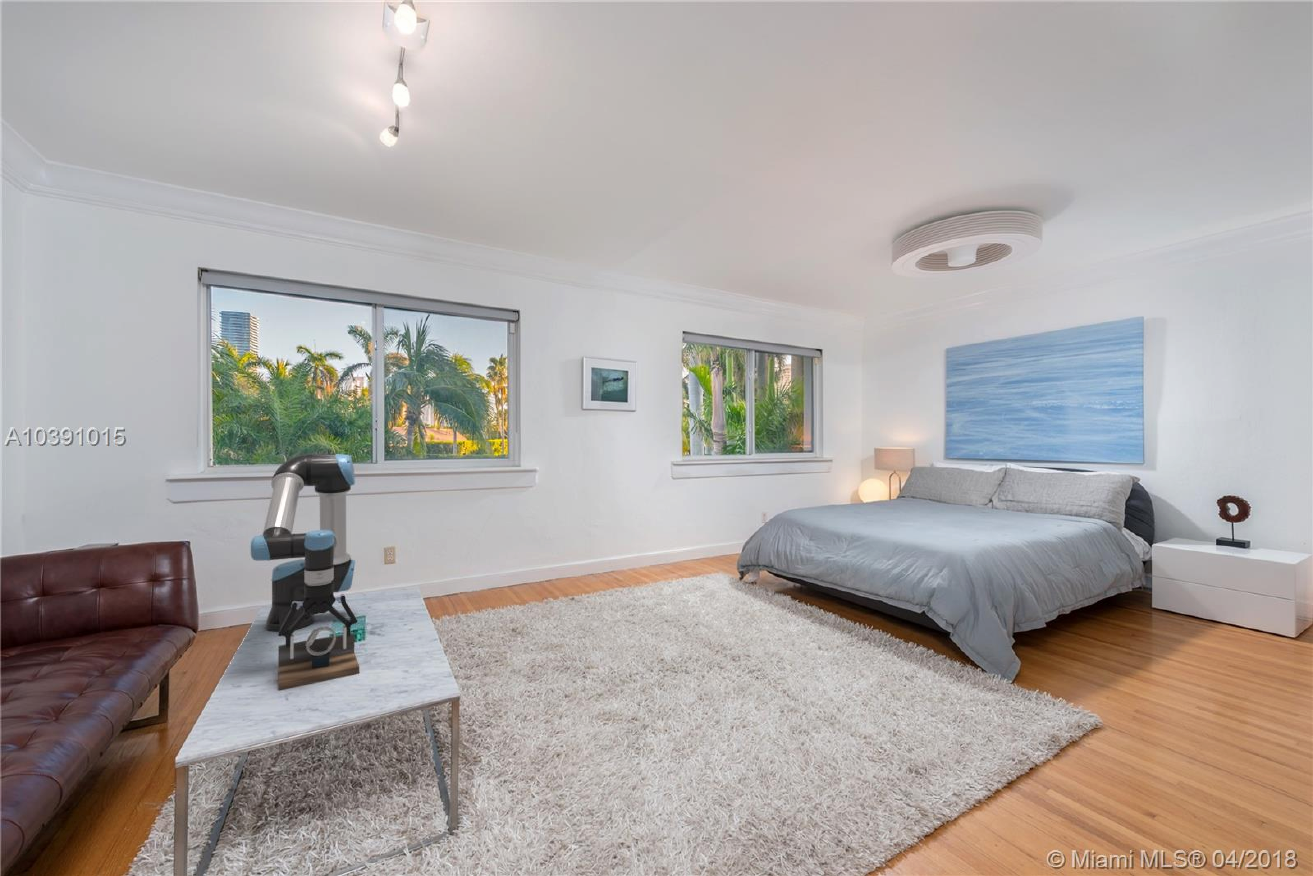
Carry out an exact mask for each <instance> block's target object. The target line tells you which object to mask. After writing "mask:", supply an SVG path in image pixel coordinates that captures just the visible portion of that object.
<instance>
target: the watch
mask: <svg viewBox="0 0 1313 876" xmlns="http://www.w3.org/2000/svg"><path fill="white" fill-rule="evenodd" d="M321 631H328V632H331V633H332V636H334V637H333V640H332V643H331V644H330V646H329V647H328V649H327V650H323V651H317V652H314V651H312V650H311V649H310V648H309V646H311V645H312V643H313V642H314V640H315V639H317V637H318V635H319V633H320V632H321ZM336 635H337V634H336V632H335V630H334V629H332V628H331V627H329V626H319V627H317V628H316V629H315V628H314V629H313V630H312V632H311V633H310V635H308V638H307V640H305V641H306V644H305V646H306V645H307V647H306V649H307V651H308V652H309V653H310V654H312V655H313V656H312V669H316V668H322V667H328V666H329V661H330V650H331V649H332V647H333V646H334V644H335V641H336Z"/></svg>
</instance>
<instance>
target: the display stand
mask: <svg viewBox="0 0 1313 876" xmlns="http://www.w3.org/2000/svg"><path fill="white" fill-rule="evenodd" d="M333 637H334V635H332V636H326V637H320V638H316V639H315V640H314V642H313V643H312V645H311V646H309V648H310V649H311V650H312V651H314V652H317V651H323V650H327V649H328V647H329V646H330V644H331V643H332V640H333ZM306 641H307V640H303V641H298V642H294V657H293V659H290V647H287V648H286V643H284V644H281V645H280V644H279V645H278V654H277V655H278V657H277V658H278V659H277V660H278V662H277V663H278V665H277V666H278V667H277V669H278V670H277V671H278V672H277V673H278V678H277V679H278V680H277V681H278V691H281V690H287V689H292V688H296V687H300V686H305V685H310V684H315V683H319V682H324V681H330V680H333V679H339V678H343V677H348V676H352V675H353V676H354V675H357V673H358V674H360V664H359V662H358V658H357V656H356V653H355V632H351V635H350V636H349V637H346V649H343V633H342V634H338V635H337V634H336V641H335V644H334V646H333V647H332V649H331V650H330V661H329V666H328V667H322V668H316V669H312V656H313V655H312V654H310V653H309V652H308V651H307V649H306V647H307V645H306V646H305V644H306Z"/></svg>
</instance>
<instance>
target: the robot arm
mask: <svg viewBox="0 0 1313 876" xmlns="http://www.w3.org/2000/svg"><path fill="white" fill-rule="evenodd" d="M354 469H355V468H354V463H353V459H352V457H351V456H350V455H349V454H340V453H324V454H323V453H321V454H319V453H318V454H317V453H316V454H312V453H311V454H309V453H308V454H307V453H306V454H305V453H304V454H299V455H296V456H293V457H291V458H289V459H288V460H286V461H285V462H283V463H282V464H281V465H280V466H279V467H278V468H277V469H276V470H275V472H274V474H273V475H272V478H271V488H272V494H271V498H270V502H269V506H268V511H267V515H266V519H265V523H264V527H263V531H262V534H261V535H260V534H259V535H256V536H253V538H252V539H251V543H250V557H251V559H252V560H253V561H259V562H260V561H275V560H276V561H277V560H287V559H295V560H290V561H286V562H283V563H279V564H278V565H276V566H274V568H273V569H272V572H271V573H272V574H271V580H270V581H271V607H270V610H269V613H268V616H267V618H266V622H265V629H266V630H267V631H271V632H277V634H278V636H279V637H285V644H286V648H287V647H290V659H293V657H294V643H295V642H294V640H295V639H294V637H295V635H294V632H295V631H296V630H298V629H302V628H305V627H308V626H310V625H312V624H314V622H315V615H318V614H325V613H327V612H330V614H331V615H333V616H334V617H335V618H336V619H338V620H339V621H340V622H341V623H343V625H342V634H343V649H346V637H349V636H350V635H351V633H352V632H351V627H352V625H354V624H355V625H356V624H357V623H358V620H357V617H356V616H355V614H354V613H353V611H352V609H351V608H350V606H349V605H348V603H347V601H346V595H345V594H344V593H341V594H340V595H337V596H334V593H339V592H347V591H349V590H350V589H351V588H352V586H353V578H354V573H355V565H356V564H355V563H356V560H355V559H352V555H351V554H349V553H348V552H347V494H348V492H350V491H351V486H354V485H355V484H356V478H355V476H356V475H355V470H354ZM304 487H314V492H315V493H317V495H319V529H318V530H316V529H315V530H311V531H308V532H305V533H293V529H294V522H295V517H296V511H297V506H298V501H299V495H300V492H301V491H303V489H304ZM303 558H304V559H303ZM335 602H338V603H339V604H341V606H342V607H343V610H345V612H346V614H347V616H348V617H349V618H350V620H349V619H348V618H346V617H345V616H344V615H343V614H342V613H341V612H339V611H338V609H336V608H335V607H334V606H333V605H334V603H335Z"/></svg>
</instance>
